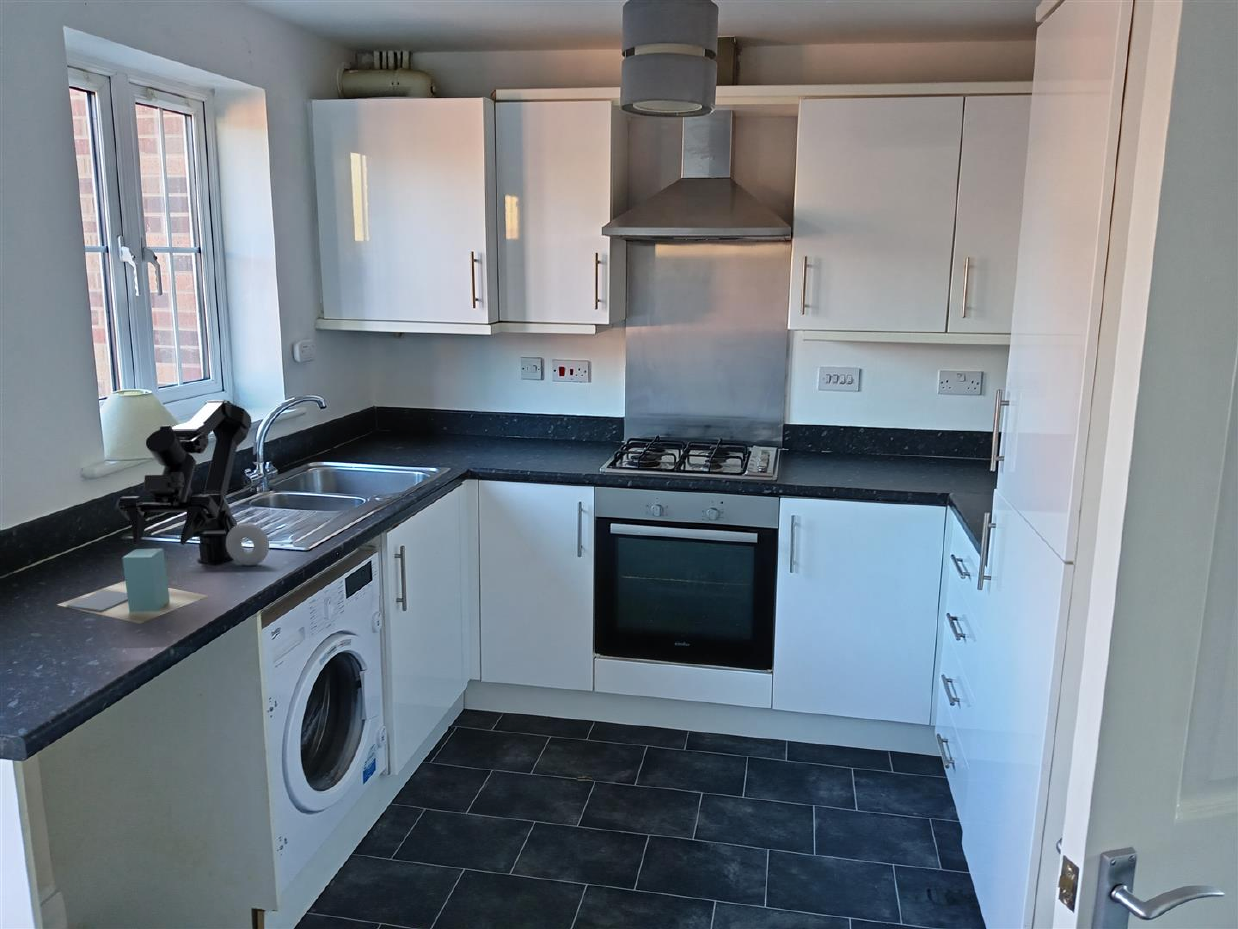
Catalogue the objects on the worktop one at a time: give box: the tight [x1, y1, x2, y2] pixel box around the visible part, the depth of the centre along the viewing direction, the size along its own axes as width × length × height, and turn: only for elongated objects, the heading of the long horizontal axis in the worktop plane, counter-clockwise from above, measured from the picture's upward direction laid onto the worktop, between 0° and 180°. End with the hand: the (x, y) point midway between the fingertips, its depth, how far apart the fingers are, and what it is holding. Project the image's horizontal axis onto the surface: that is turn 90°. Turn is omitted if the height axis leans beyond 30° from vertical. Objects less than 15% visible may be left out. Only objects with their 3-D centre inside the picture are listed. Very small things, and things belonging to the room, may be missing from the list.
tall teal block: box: [121, 548, 170, 612], centre depth 184 cm, size 5×5×11 cm
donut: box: [226, 522, 270, 567], centre depth 213 cm, size 10×3×10 cm, turn 84°
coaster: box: [66, 590, 128, 612], centre depth 188 cm, size 9×9×1 cm
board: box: [56, 580, 209, 625], centre depth 189 cm, size 16×24×3 cm, turn 65°
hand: (158, 544), depth 190 cm, fingers open, 9 cm apart
